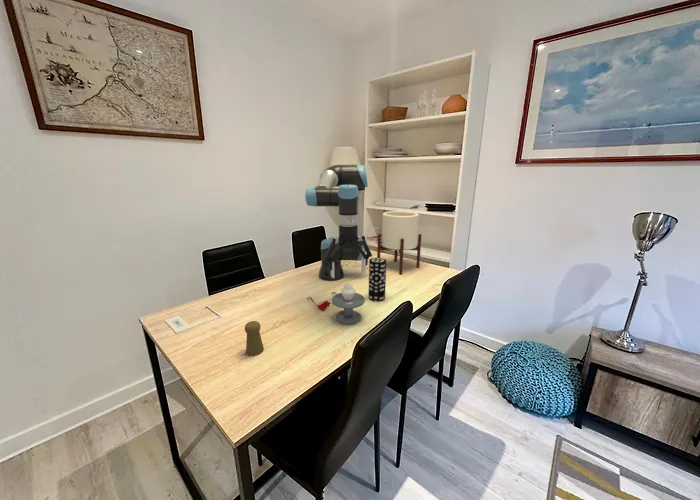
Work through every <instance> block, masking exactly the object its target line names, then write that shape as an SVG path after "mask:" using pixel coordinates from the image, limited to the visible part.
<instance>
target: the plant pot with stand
mask: <svg viewBox="0 0 700 500" xmlns="http://www.w3.org/2000/svg"><path fill="white" fill-rule="evenodd" d="M419 217H420V214H419V213H417V212H413V211H405V210H403V211H400V210H396V211H395V210H393V211H384V212H383V213H382V222H381V223H382V229H381V233H377V248H376V249H377V251H376V252H377V253H376V256H377V257H376V258H381V251H394V255H393V257H394V258H393V261H394V262H395V263H397V262H398V254H399V264H398V265H399V267H398V275H399V276H402V275H403V269H404V268H403V265H404V251H417V252H416V264H415V268H416V269H420V265H421V264H420V263H421V262H420V260H421V259H420V258H421V248H422V247H421V245H422V233H419V232H418V231H419V219H420V218H419ZM398 252H399V253H398Z"/></svg>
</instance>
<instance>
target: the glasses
mask: <svg viewBox="0 0 700 500" xmlns="http://www.w3.org/2000/svg"><path fill="white" fill-rule="evenodd" d="M331 294H332V295H333V294H334V295H336V294H337V293H336V292H334V291H333V292H331ZM308 299H310V300H311V302H312V303H314V305H315V306H316V307H317V310H319V311H322V312H323V311H326V310H327V309H328V307H330V305H331V302H330V301H331V299H328V300H324V301H321V302H319V303H318V305H317V303H316V302H315V301H314V300H313V298H312V297H311V296H308V297H307V298H306V300H308ZM333 306H335V305H333ZM335 307H336V306H335Z"/></svg>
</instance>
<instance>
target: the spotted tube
mask: <svg viewBox="0 0 700 500" xmlns="http://www.w3.org/2000/svg"><path fill="white" fill-rule="evenodd" d="M386 280H387V258H383V257H380V258H377V257H370V258H369V259H368V300H369V301H371V302H376V303H377V302H379V303H380V302H383V301H385V300H386V287H387V286H386V283H387V282H386Z"/></svg>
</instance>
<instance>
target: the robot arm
mask: <svg viewBox="0 0 700 500" xmlns="http://www.w3.org/2000/svg"><path fill="white" fill-rule="evenodd" d="M336 187H337V188H336ZM368 187H369V185H368V175H367V169H366V166H365V165H364V164H335V165H334V164H333V165H331V166H328V167H327V168H326V169H324V170H323V171H322V172H321V173H320V175H319V181H318V182H317V183H316V185H315V186H314V187H309V188H307V189H306V190H305V203H306V205H307V206H309V207H338V236H337V237H334V236H332V237H328V238H326V239H323V240H322V241H321V243H320V254H321V255H320V258H321V265H320V269H319V272H318V277H319V279H321V280H323V281H329V282H330V281H338V280H341V279H344V277H345V272H344V269H343V266H342V261H355V262H357V261H361V273H362V274H363V275H366V266H369V259H370V258H373V257H372V256H373V254H372V252H371V250H370V247H369V245H368V242H367V240H366V236H365V235H363V193H364V192H365V191H366V188H368Z"/></svg>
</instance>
